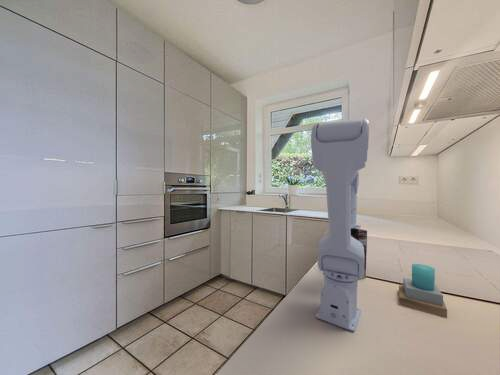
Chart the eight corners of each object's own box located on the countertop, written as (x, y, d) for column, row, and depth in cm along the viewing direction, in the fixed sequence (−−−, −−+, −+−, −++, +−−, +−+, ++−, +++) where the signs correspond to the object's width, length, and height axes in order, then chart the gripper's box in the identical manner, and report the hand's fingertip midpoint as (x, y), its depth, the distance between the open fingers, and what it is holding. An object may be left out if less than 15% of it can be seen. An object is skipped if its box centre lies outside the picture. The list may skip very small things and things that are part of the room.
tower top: (442, 306, 50) (443, 295, 50) (406, 297, 54) (406, 287, 54) (435, 293, 56) (435, 284, 56) (403, 286, 60) (403, 277, 60)
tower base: (446, 320, 49) (447, 309, 49) (399, 306, 54) (399, 297, 54) (440, 303, 56) (440, 293, 56) (398, 292, 61) (399, 284, 61)
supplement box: (335, 270, 75) (336, 226, 75) (345, 268, 77) (346, 225, 77) (356, 280, 67) (357, 231, 67) (366, 278, 69) (368, 230, 69)
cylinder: (435, 292, 52) (436, 272, 51) (411, 286, 54) (412, 267, 54) (433, 285, 55) (433, 266, 55) (411, 280, 58) (411, 262, 58)
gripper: (356, 211, 54) (355, 264, 54) (364, 207, 65) (363, 251, 66) (328, 209, 58) (326, 258, 58) (340, 206, 70) (339, 247, 70)
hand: (344, 254), depth 62 cm, fingers open, 7 cm apart
